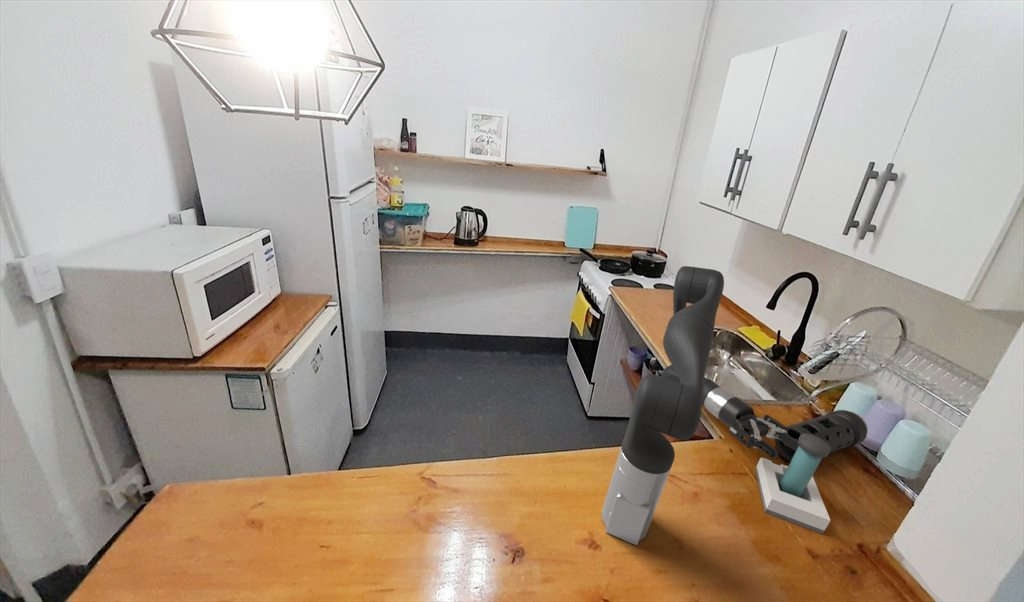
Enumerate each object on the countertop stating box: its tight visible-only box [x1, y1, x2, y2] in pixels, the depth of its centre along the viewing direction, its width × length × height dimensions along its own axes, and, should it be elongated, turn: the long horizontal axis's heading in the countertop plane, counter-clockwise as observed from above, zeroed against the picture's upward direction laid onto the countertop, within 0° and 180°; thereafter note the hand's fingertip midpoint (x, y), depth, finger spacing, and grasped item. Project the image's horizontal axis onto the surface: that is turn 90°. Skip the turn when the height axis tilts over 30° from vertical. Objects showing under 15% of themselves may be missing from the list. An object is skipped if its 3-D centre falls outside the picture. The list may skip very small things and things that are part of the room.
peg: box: [779, 433, 831, 498], centre depth 89 cm, size 6×6×16 cm
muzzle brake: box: [774, 409, 868, 463], centre depth 109 cm, size 10×28×10 cm, turn 115°
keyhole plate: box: [754, 456, 831, 535], centre depth 92 cm, size 14×11×4 cm
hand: (788, 451), depth 92 cm, fingers open, 8 cm apart
